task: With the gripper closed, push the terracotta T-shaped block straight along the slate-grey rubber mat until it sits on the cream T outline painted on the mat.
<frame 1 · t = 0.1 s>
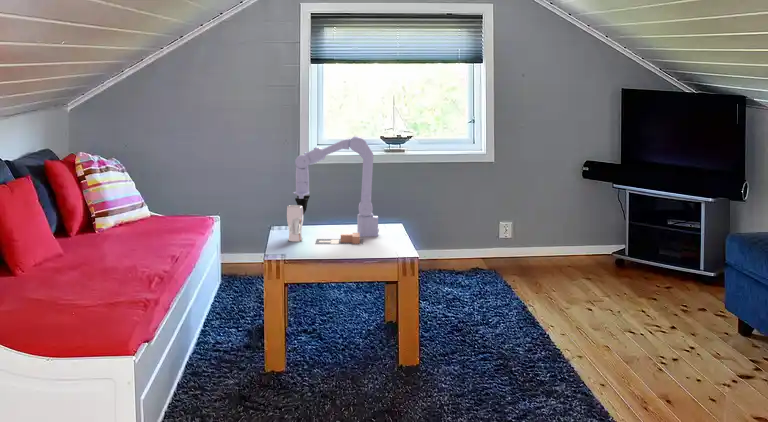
hand: (302, 212, 330), 10 cm above the table, fingers open, 7 cm apart
t mat: (339, 242, 315), on the table
beer glass: (295, 241, 319), on the table
t block: (356, 241, 316), resting on t mat
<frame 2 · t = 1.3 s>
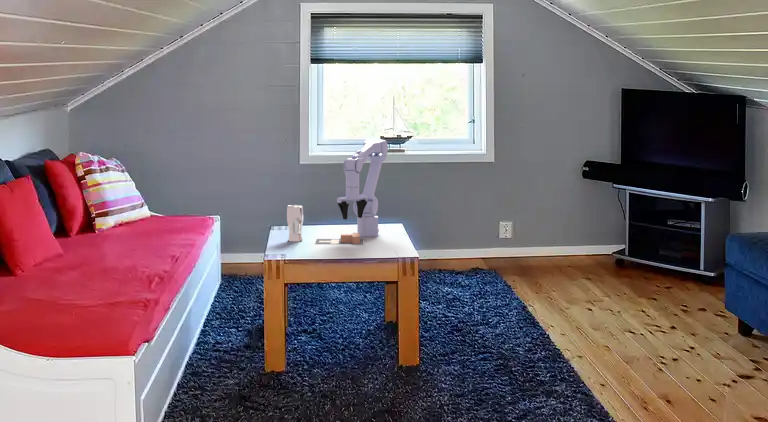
hand: (352, 218, 319), 10 cm above the table, fingers open, 7 cm apart
nothing on the table moved.
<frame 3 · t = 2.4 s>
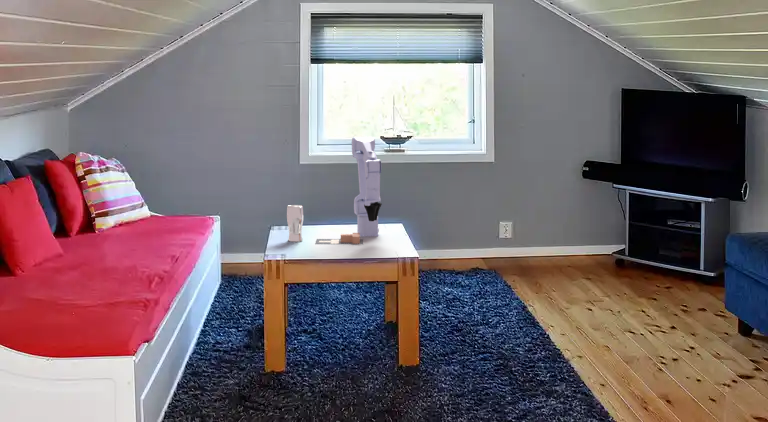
hand: (372, 220, 315), 9 cm above the table, fingers open, 3 cm apart
nothing on the table moved.
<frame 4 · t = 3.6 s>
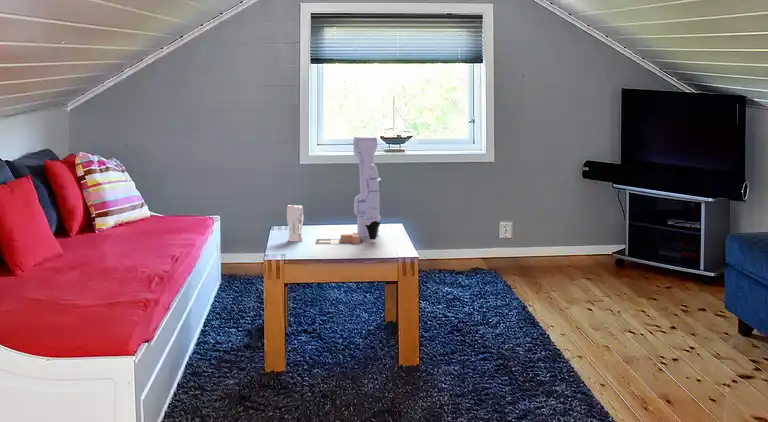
hand: (372, 239, 316), 1 cm above the table, fingers closed
nothing on the table moved.
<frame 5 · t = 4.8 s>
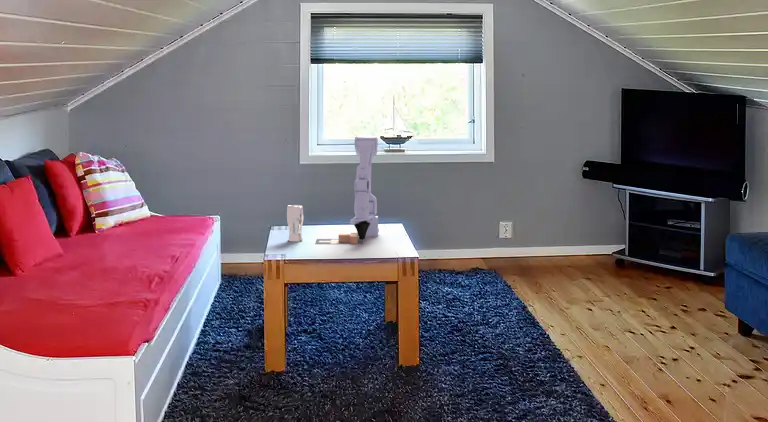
hand: (361, 239, 316), 1 cm above the table, fingers closed
t block: (354, 241, 316), resting on t mat, touching gripper
everything else where it was.
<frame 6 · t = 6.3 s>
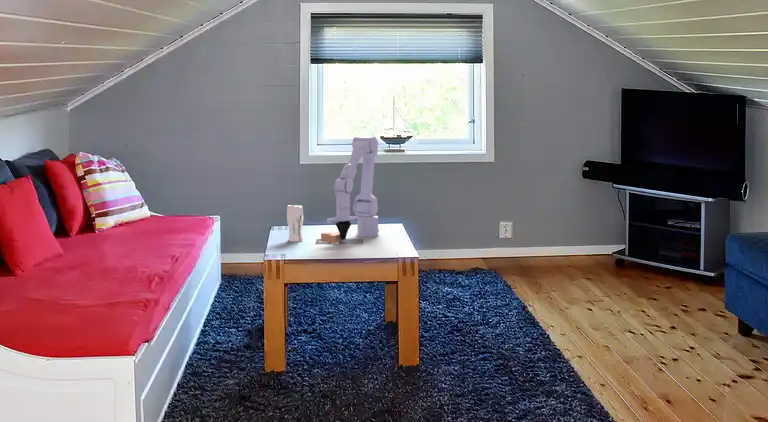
hand: (343, 239, 315), 1 cm above the table, fingers closed
t block: (336, 240, 317), resting on t mat, touching gripper
everything else where it was.
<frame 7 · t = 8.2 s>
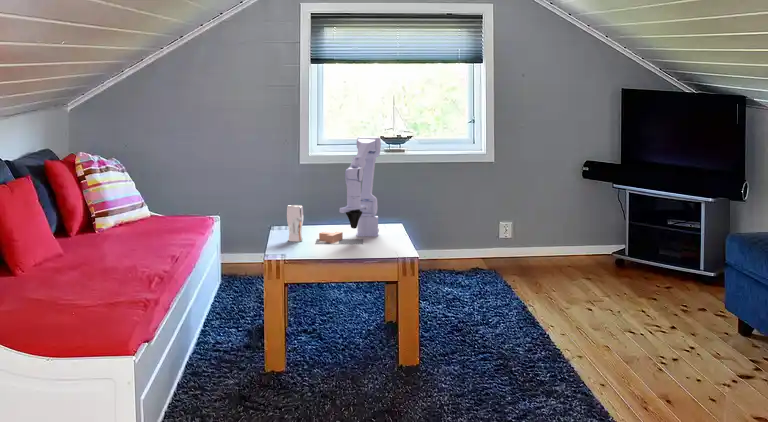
hand: (353, 228, 315), 6 cm above the table, fingers closed
t block: (334, 240, 317), resting on t mat
everything else where it was.
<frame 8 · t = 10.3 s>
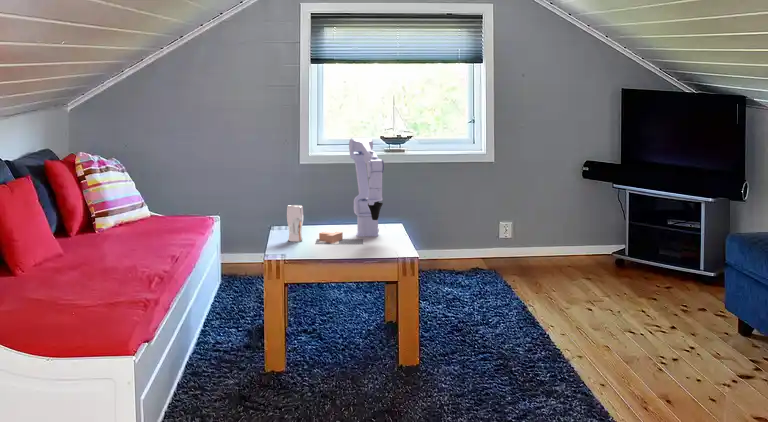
hand: (375, 219, 317), 9 cm above the table, fingers closed
nothing on the table moved.
at the end: t block 1.8 cm from the target spot on the t mat, point 0.4 cm above the t mat's base; t block tilted 0°; the gripper is holding nothing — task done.
